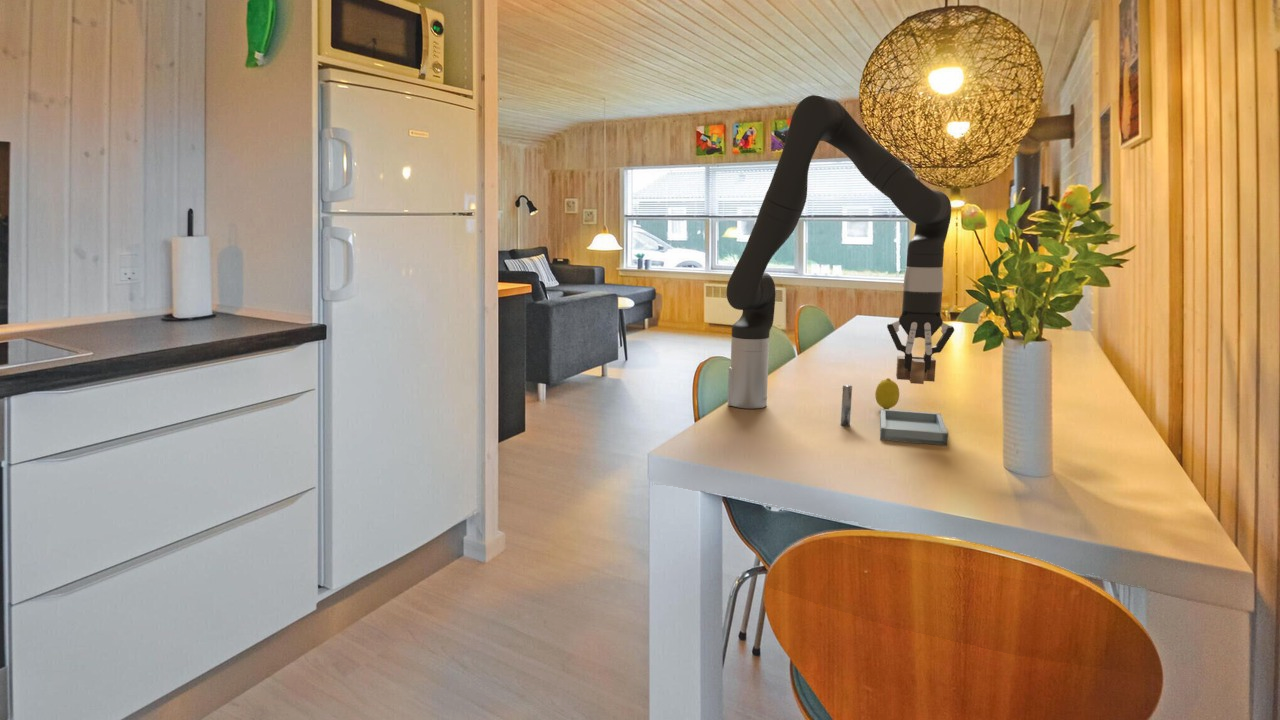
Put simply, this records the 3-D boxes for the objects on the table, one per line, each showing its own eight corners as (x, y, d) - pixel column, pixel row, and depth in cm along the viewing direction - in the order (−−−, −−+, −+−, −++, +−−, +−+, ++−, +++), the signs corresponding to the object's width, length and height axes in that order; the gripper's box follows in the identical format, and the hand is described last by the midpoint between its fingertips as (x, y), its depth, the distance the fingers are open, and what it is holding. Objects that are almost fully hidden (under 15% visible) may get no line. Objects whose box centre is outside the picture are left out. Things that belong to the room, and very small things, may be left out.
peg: (840, 425, 166) (842, 386, 164) (840, 423, 168) (843, 384, 166) (849, 426, 165) (852, 387, 164) (850, 424, 167) (852, 385, 166)
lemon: (895, 408, 183) (897, 376, 182) (900, 413, 178) (902, 380, 176) (872, 407, 184) (874, 375, 182) (877, 412, 178) (879, 380, 177)
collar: (897, 382, 153) (899, 360, 152) (896, 375, 166) (897, 355, 165) (936, 384, 151) (938, 362, 150) (931, 377, 163) (933, 357, 163)
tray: (880, 439, 155) (881, 428, 154) (879, 419, 172) (880, 408, 171) (947, 445, 151) (948, 433, 151) (939, 424, 168) (940, 413, 168)
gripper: (887, 289, 151) (882, 372, 154) (961, 291, 147) (954, 377, 149) (887, 287, 158) (882, 366, 161) (957, 288, 154) (951, 370, 157)
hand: (917, 371), depth 155 cm, fingers closed on collar, 2 cm apart
